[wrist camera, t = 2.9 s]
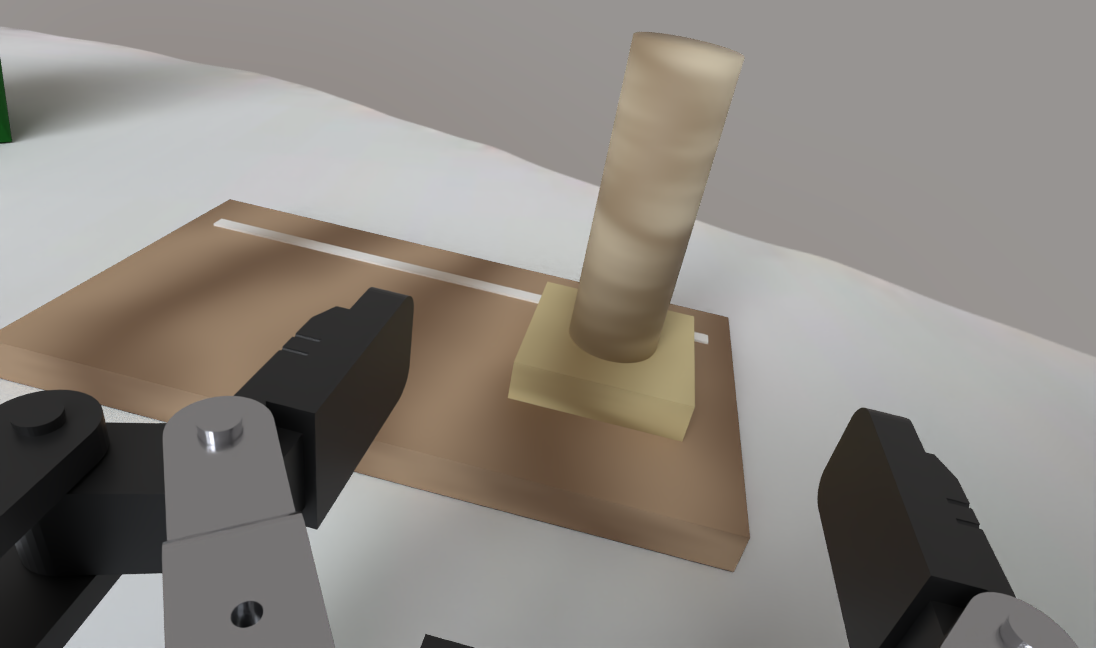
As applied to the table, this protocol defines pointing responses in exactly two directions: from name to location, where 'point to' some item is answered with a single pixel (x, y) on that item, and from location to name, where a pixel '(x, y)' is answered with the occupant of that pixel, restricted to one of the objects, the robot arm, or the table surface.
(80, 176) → the table surface
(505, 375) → the walnut board
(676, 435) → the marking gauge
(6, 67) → the table surface
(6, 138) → the milk carton
